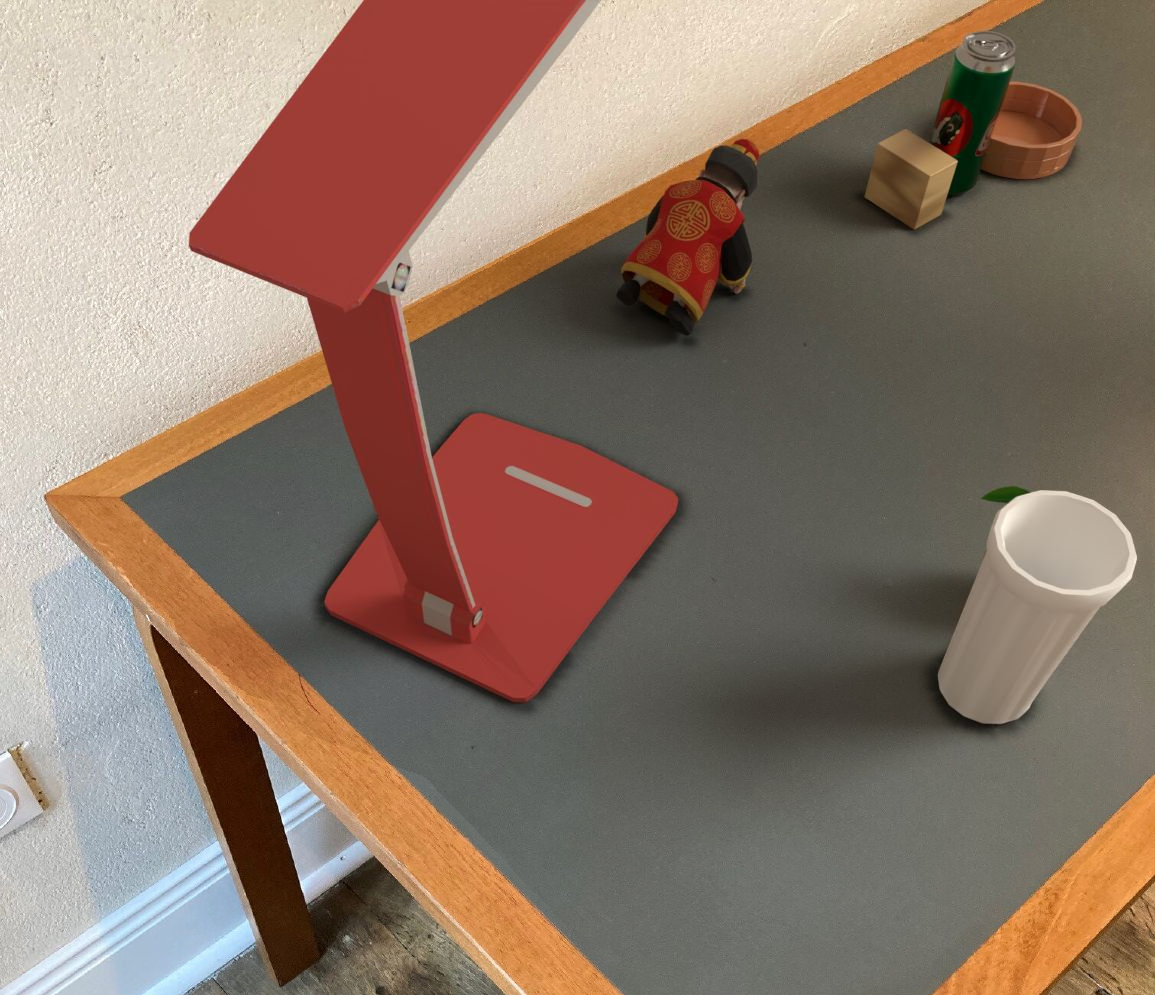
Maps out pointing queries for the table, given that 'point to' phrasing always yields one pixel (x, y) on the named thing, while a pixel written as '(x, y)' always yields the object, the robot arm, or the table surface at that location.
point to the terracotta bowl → (1032, 133)
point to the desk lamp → (382, 353)
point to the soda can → (973, 103)
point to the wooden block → (910, 178)
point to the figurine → (695, 239)
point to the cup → (1032, 600)
